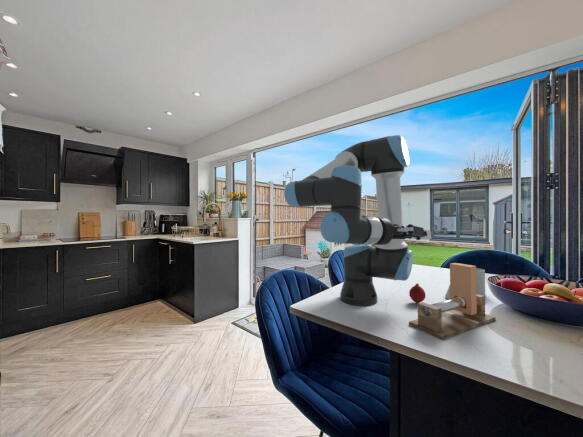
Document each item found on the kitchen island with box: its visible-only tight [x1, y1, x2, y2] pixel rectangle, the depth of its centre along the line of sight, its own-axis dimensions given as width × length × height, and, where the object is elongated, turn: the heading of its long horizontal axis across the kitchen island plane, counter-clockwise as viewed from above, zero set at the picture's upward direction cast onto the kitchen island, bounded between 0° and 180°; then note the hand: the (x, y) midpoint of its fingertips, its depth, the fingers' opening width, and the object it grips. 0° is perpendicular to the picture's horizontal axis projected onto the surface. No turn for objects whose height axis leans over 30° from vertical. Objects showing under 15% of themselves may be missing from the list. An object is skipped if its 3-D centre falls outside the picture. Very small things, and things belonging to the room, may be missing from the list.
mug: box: [476, 267, 486, 297], centre depth 110 cm, size 12×8×11 cm
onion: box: [408, 283, 426, 304], centre depth 98 cm, size 6×6×8 cm
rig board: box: [408, 294, 497, 341], centre depth 80 cm, size 28×11×8 cm, turn 116°
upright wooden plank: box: [449, 262, 477, 315], centre depth 82 cm, size 3×7×16 cm, turn 26°
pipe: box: [422, 297, 466, 317], centre depth 80 cm, size 26×3×3 cm, turn 116°
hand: (428, 234), depth 77 cm, fingers closed
